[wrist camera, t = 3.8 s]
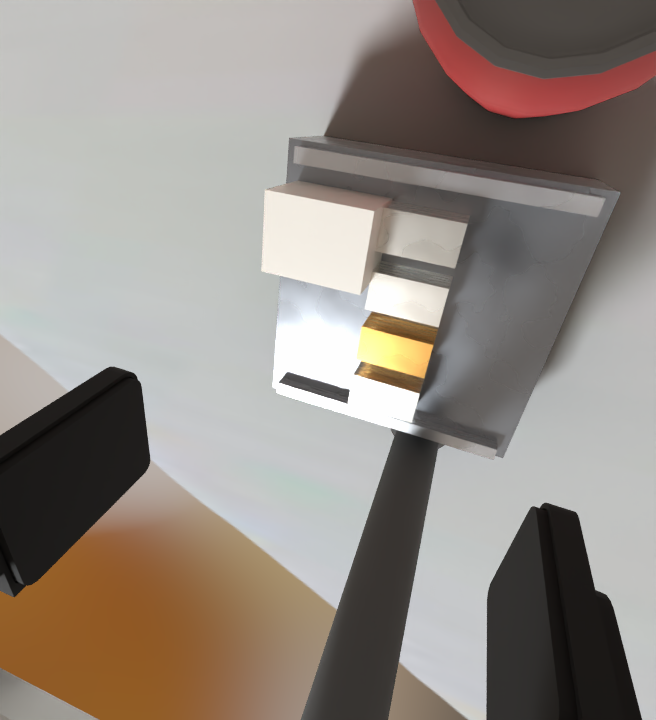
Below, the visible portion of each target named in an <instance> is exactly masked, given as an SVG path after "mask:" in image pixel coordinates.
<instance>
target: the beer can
mask: <svg viewBox="0 0 656 720" xmlns="http://www.w3.org/2000/svg"><path fill="white" fill-rule="evenodd" d="M413 4H414V8H415V12H416V16H417V20H418V24H419V28H420V32H421V34H422V35H423V37H424V39H425V40H426V42H427V43H428V45H429V47H430V48H431V50H432V52H433V53H434V55H435V56H436V58H437V60H438V61H439V63H440V65H441V66H442V68H443V69H444V71H445V73H446V74H447V75H448V76H449V77H450V78H451V79H452V80H453V81H454V82H455V83H456V84H457V85H458V86H459V87H460V88H461V89H462V90H463V91H464V92H465V93H466V94H467V95H468V96H469V97H471V98H472V99H473V100H474V101H476V102H477V103H478V104H480V105H481V106H482V107H484V108H485V109H486V110H487V111H489V112H492V113H496V114H499V115H503V116H506V117H510V118H513V119H516V118H530V117H543V116H549V115H555V114H561V113H567V112H573V111H579V110H582V109H585V108H587V107H590V106H593V105H595V104H598V103H600V102H603V101H606V100H608V99H611V98H614V97H616V96H619V95H621V94H624V93H627V92H629V91H632V90H634V89H637V88H638V87H640V86H641V85H643V84H644V83H646V82H647V81H648V80H650V79H651V78H653V77H654V76H656V0H413Z"/></svg>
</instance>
